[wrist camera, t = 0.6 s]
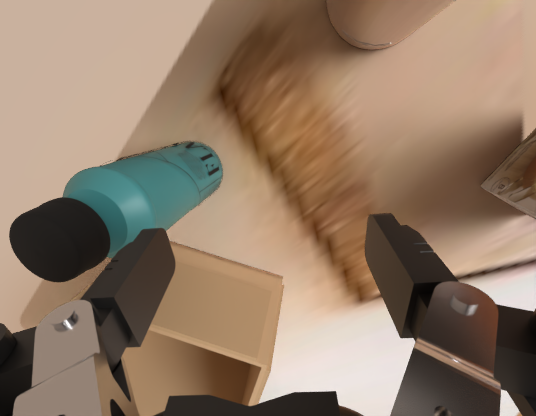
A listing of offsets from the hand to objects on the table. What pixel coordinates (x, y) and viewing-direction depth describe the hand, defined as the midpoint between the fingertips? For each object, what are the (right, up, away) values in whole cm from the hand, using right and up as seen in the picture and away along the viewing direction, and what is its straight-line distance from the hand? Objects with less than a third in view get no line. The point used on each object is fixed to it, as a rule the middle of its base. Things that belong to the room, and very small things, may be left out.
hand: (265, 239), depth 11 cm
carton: (-9, -12, +27) cm, 31 cm away
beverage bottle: (-8, +6, +21) cm, 23 cm away
